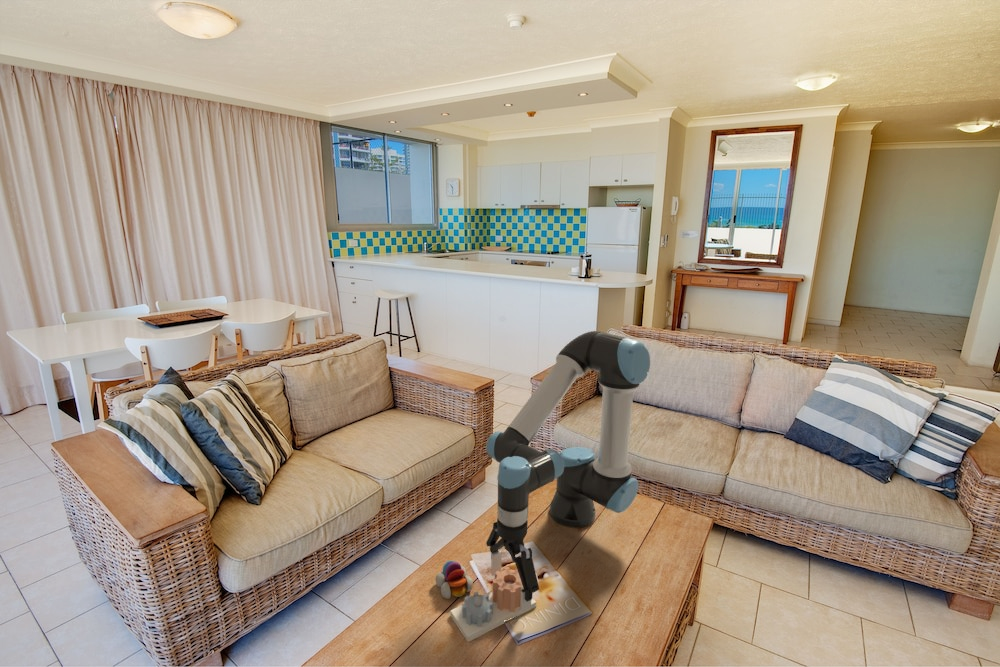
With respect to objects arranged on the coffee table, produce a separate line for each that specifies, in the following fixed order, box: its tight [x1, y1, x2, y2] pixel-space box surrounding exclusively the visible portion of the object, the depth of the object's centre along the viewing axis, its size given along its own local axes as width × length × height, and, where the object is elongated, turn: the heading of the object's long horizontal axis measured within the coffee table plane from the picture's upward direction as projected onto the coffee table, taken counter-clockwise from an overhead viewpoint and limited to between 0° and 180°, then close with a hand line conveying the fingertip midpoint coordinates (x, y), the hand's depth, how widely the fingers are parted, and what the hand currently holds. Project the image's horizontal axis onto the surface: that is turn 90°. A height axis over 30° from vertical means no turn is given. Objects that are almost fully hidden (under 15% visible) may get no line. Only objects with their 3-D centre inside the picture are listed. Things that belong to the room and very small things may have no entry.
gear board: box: [449, 581, 537, 643], centre depth 120 cm, size 9×20×6 cm, turn 123°
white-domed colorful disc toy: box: [435, 560, 474, 600], centre depth 127 cm, size 8×10×7 cm
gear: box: [492, 566, 523, 612], centre depth 122 cm, size 8×8×6 cm
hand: (510, 590), depth 123 cm, fingers open, 13 cm apart
